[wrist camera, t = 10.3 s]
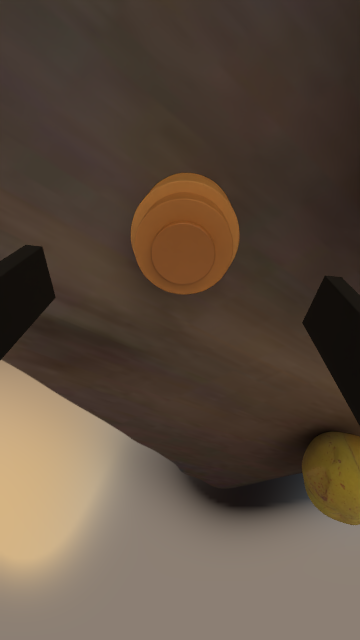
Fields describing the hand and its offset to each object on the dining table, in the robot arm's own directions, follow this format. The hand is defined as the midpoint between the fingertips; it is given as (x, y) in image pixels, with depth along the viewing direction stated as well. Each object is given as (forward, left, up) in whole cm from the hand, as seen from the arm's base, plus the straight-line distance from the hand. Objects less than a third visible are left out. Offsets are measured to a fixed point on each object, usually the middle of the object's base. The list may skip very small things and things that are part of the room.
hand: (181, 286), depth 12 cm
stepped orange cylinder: (0, 0, -9) cm, 9 cm away
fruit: (+32, -18, -9) cm, 38 cm away
